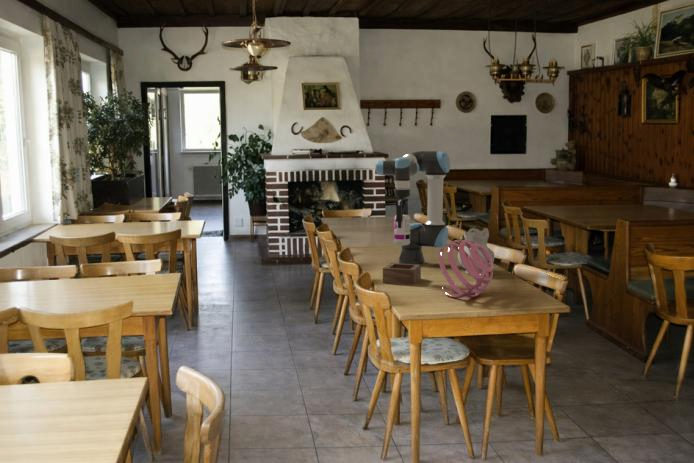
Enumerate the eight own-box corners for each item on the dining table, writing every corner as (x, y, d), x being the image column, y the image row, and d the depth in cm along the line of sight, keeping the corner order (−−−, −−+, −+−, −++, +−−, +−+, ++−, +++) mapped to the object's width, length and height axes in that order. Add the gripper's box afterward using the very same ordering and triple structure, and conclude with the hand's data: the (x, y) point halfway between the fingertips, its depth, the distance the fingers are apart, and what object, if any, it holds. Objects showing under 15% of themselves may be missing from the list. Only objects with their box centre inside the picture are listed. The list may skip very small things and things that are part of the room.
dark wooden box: (391, 276, 404) (391, 262, 403) (420, 278, 399) (420, 264, 398) (382, 282, 389) (382, 268, 388) (413, 284, 384) (413, 270, 383)
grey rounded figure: (492, 280, 400) (497, 233, 397) (454, 275, 404) (459, 229, 400) (492, 272, 421) (497, 227, 418) (457, 268, 425) (461, 224, 421)
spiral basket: (413, 253, 361) (456, 225, 346) (449, 260, 381) (491, 233, 366) (432, 307, 349) (477, 280, 334) (467, 310, 369) (512, 285, 354)
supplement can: (397, 245, 386) (397, 216, 384) (392, 243, 394) (392, 214, 392) (412, 245, 388) (412, 215, 386) (406, 242, 396) (407, 213, 394)
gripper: (400, 186, 398) (400, 230, 401) (389, 190, 379) (389, 235, 382) (414, 187, 396) (414, 230, 399) (404, 190, 376) (404, 236, 379)
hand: (402, 233), depth 390 cm, fingers closed on supplement can, 8 cm apart
